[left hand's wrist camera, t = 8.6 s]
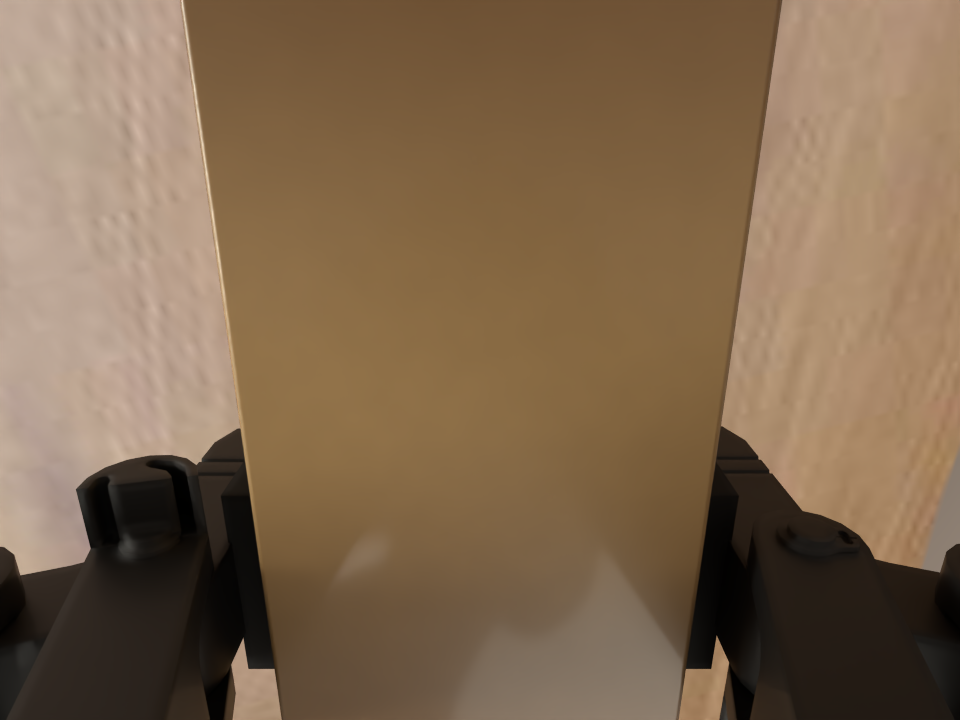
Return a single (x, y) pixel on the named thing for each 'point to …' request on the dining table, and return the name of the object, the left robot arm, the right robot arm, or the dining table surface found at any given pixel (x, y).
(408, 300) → the bar
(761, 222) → the dining table surface
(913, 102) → the dining table surface
